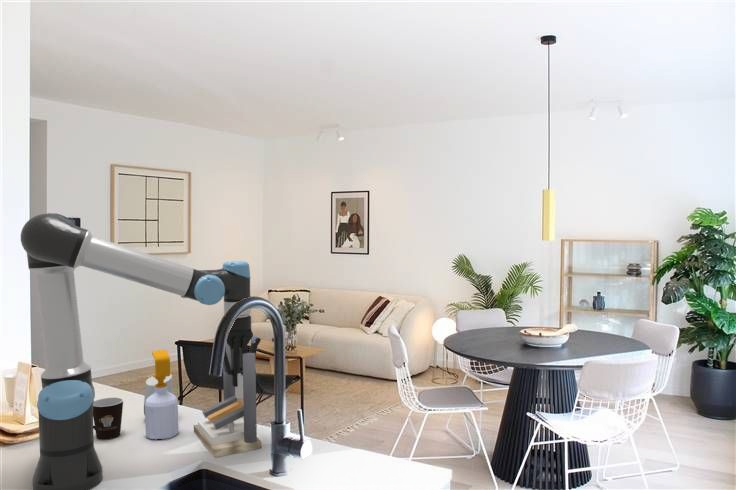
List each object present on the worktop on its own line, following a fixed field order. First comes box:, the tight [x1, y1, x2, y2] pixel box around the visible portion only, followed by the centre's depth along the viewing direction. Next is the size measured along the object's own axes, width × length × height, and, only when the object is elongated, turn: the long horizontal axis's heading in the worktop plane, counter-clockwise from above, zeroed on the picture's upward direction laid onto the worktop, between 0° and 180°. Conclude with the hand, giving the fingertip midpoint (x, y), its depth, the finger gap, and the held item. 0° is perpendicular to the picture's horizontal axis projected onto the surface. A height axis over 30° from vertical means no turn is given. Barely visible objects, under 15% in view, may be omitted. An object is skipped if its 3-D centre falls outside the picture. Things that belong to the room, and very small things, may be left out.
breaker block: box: [197, 417, 244, 445], centre depth 174 cm, size 12×15×5 cm
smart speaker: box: [143, 373, 175, 416], centre depth 192 cm, size 10×9×14 cm
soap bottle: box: [144, 349, 180, 441], centre depth 178 cm, size 9×9×25 cm
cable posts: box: [222, 344, 258, 443], centre depth 176 cm, size 3×22×24 cm, turn 29°
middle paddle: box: [206, 400, 244, 424], centre depth 174 cm, size 10×2×2 cm, turn 119°
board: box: [193, 424, 262, 458], centre depth 175 cm, size 13×22×2 cm, turn 29°
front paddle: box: [212, 407, 244, 430], centre depth 169 cm, size 10×2×2 cm, turn 119°
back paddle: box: [202, 395, 238, 419], centre depth 179 cm, size 10×2×2 cm, turn 119°
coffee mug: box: [93, 397, 124, 441], centre depth 178 cm, size 12×9×10 cm
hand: (239, 396), depth 176 cm, fingers closed
